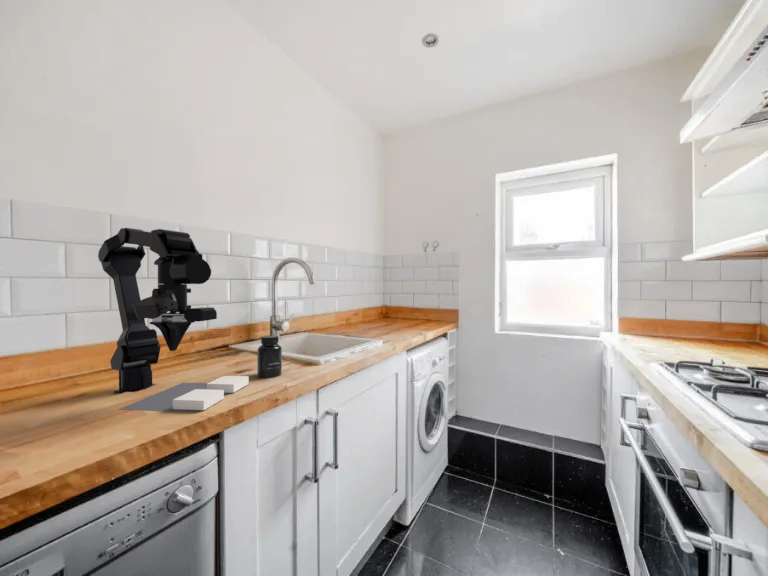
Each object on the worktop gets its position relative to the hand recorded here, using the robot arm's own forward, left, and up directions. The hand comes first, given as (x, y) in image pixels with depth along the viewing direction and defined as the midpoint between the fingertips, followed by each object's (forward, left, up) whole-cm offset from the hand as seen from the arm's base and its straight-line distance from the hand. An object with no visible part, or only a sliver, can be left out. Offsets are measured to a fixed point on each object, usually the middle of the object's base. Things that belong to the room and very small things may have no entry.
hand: (173, 350), depth 74 cm
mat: (+2, +2, -12) cm, 12 cm away
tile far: (+5, +8, -10) cm, 14 cm away
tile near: (+5, -3, -10) cm, 12 cm away
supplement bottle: (+14, +21, -12) cm, 28 cm away
